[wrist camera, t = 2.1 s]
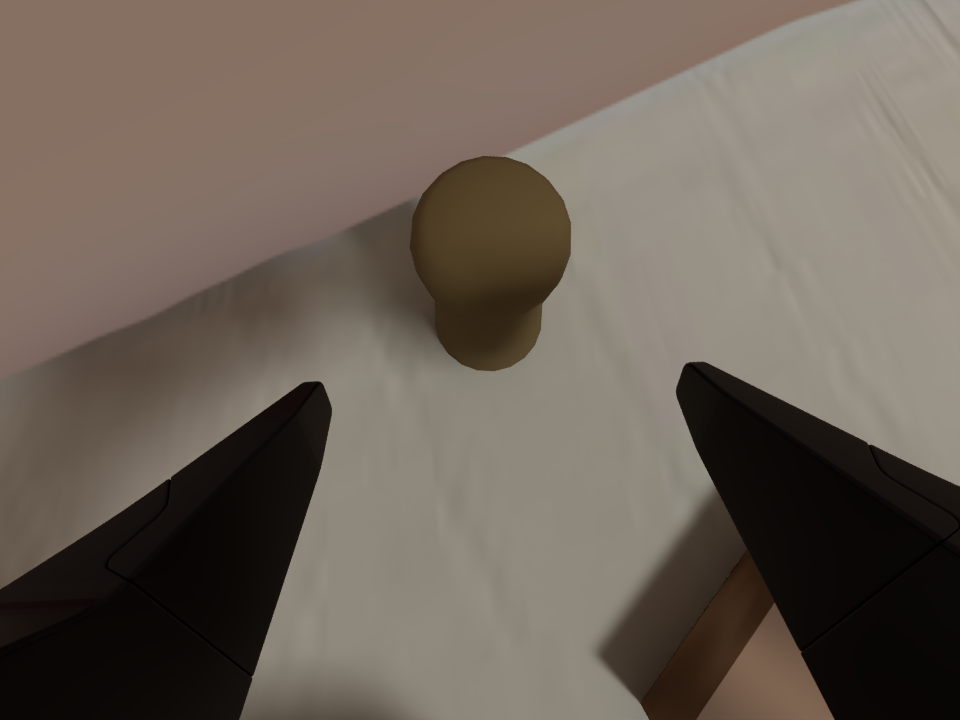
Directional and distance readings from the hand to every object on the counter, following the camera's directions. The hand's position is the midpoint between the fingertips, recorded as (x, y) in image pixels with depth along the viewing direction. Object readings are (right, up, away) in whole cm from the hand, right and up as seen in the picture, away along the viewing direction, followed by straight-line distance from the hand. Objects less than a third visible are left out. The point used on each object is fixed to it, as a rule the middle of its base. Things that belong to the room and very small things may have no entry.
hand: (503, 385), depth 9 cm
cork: (0, +3, +12) cm, 13 cm away
